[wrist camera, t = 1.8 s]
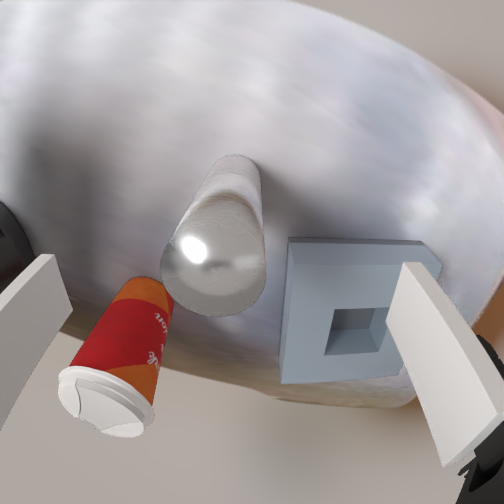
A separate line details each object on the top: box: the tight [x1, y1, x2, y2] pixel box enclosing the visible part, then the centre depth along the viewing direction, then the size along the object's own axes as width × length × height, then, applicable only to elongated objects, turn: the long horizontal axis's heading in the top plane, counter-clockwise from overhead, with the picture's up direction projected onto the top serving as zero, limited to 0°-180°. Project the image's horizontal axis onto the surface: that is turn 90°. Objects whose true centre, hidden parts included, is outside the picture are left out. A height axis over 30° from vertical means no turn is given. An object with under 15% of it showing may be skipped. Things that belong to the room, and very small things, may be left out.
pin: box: [160, 155, 266, 317], centre depth 17 cm, size 4×4×14 cm
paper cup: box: [58, 277, 173, 438], centre depth 23 cm, size 8×8×14 cm
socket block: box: [279, 237, 443, 384], centre depth 27 cm, size 13×14×4 cm
